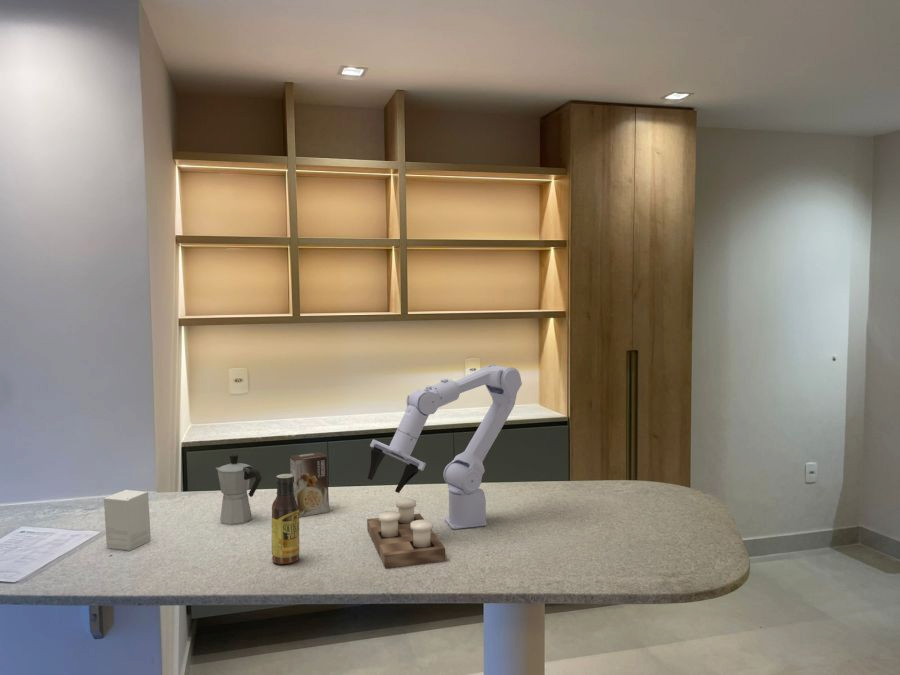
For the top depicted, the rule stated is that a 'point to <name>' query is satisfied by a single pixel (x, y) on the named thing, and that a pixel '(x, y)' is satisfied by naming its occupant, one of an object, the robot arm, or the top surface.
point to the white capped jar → (406, 509)
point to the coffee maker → (236, 491)
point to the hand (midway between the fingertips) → (383, 485)
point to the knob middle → (389, 523)
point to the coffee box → (310, 483)
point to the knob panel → (404, 545)
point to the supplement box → (127, 520)
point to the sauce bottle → (285, 522)
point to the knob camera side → (421, 533)
